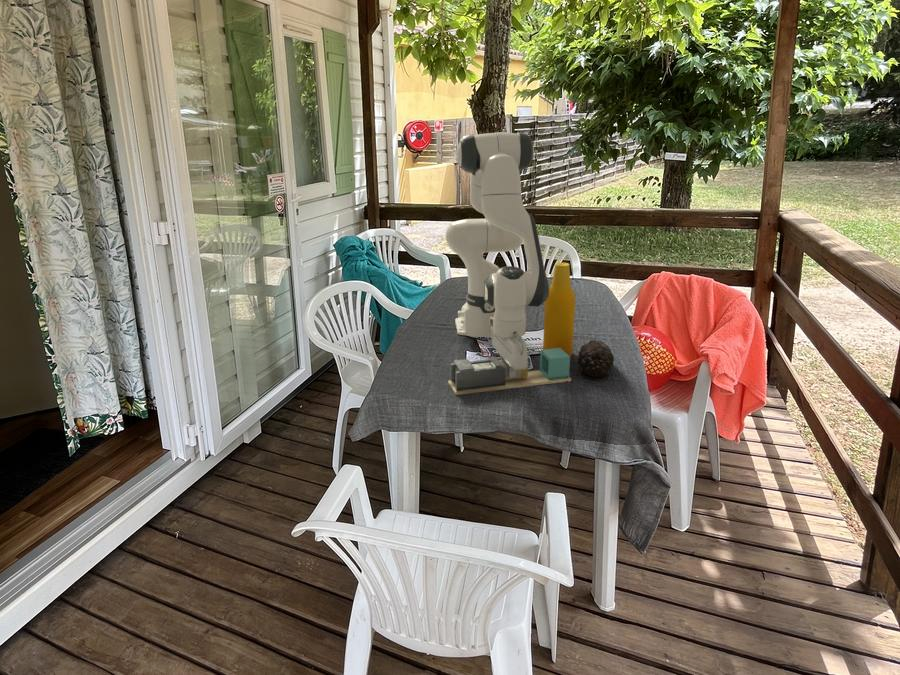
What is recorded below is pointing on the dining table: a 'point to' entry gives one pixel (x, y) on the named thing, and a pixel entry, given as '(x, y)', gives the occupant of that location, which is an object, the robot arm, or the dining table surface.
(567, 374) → the teal cube
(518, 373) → the slip tube
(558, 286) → the beer bottle
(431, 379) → the dining table surface
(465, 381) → the sleeve
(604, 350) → the pine cone
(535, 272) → the robot arm
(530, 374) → the board
